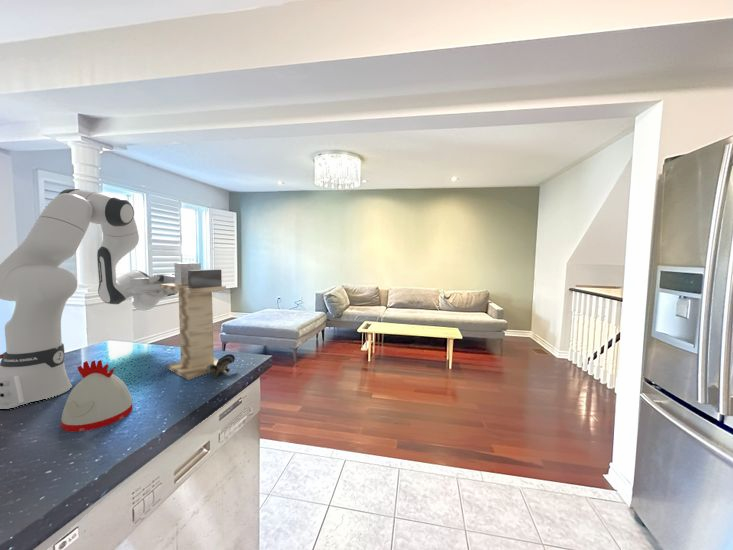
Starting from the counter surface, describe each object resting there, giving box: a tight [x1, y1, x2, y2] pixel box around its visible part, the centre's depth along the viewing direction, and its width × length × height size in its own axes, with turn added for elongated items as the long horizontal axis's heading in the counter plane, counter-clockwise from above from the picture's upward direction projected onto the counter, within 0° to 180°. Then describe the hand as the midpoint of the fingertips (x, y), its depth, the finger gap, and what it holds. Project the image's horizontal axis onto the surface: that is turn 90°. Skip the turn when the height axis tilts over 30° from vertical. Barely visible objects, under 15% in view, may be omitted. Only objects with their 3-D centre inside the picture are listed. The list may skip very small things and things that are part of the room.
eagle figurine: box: [206, 353, 236, 380], centre depth 106 cm, size 8×7×9 cm
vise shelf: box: [160, 268, 228, 381], centre depth 111 cm, size 24×14×37 cm, turn 55°
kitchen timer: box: [60, 359, 134, 433], centre depth 78 cm, size 14×14×15 cm
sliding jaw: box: [158, 262, 202, 286], centre depth 118 cm, size 26×7×8 cm, turn 55°
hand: (165, 275), depth 124 cm, fingers open, 4 cm apart
